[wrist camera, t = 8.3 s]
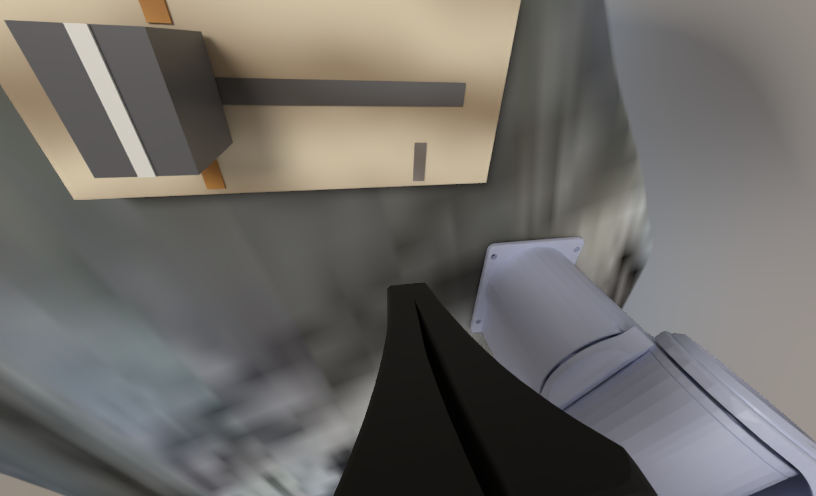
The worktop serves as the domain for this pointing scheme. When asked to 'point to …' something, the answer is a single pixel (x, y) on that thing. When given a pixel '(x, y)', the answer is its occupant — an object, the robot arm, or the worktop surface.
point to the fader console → (305, 90)
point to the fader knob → (130, 95)
